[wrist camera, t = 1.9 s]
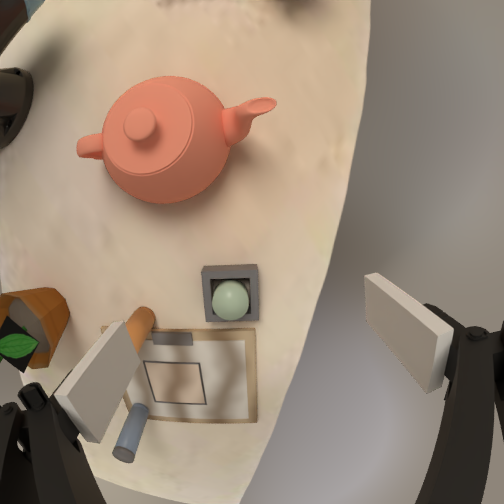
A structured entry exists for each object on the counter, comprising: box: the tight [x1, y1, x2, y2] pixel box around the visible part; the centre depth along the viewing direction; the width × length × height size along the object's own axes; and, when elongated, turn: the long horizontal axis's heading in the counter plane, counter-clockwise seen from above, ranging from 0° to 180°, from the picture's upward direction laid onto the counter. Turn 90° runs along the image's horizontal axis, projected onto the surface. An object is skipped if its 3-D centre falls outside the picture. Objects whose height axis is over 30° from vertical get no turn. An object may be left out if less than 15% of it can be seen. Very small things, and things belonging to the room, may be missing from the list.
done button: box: [212, 279, 249, 320], centre depth 35 cm, size 4×4×3 cm
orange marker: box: [125, 307, 155, 354], centre depth 32 cm, size 4×4×12 cm
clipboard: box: [101, 326, 257, 423], centre depth 41 cm, size 24×20×1 cm
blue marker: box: [112, 403, 149, 463], centre depth 36 cm, size 4×4×12 cm
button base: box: [201, 264, 259, 322], centre depth 37 cm, size 7×7×2 cm
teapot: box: [77, 76, 277, 204], centre depth 27 cm, size 22×16×12 cm
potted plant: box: [0, 287, 70, 409], centre depth 23 cm, size 18×19×30 cm
